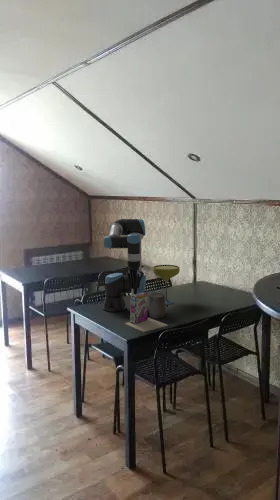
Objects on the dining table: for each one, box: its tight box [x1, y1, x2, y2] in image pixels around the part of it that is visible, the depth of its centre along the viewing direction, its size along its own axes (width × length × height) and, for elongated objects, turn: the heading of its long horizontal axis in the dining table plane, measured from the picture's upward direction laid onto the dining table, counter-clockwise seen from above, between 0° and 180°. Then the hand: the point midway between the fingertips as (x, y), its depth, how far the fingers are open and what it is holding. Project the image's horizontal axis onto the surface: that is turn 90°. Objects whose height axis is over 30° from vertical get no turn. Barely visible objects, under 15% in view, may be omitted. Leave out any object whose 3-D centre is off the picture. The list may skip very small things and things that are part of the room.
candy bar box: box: [129, 292, 149, 324], centre depth 265 cm, size 11×5×16 cm, turn 139°
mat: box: [124, 317, 169, 333], centre depth 260 cm, size 18×18×1 cm
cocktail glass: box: [152, 264, 180, 306], centre depth 307 cm, size 18×18×25 cm
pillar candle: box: [148, 292, 166, 319], centre depth 277 cm, size 10×10×15 cm
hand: (134, 299), depth 268 cm, fingers closed
